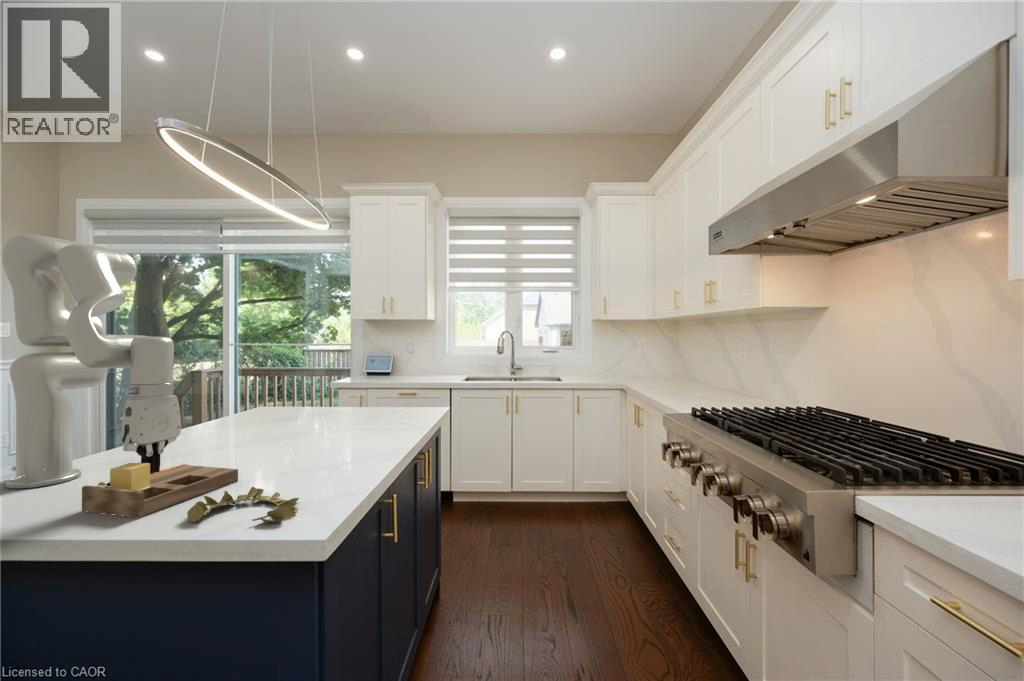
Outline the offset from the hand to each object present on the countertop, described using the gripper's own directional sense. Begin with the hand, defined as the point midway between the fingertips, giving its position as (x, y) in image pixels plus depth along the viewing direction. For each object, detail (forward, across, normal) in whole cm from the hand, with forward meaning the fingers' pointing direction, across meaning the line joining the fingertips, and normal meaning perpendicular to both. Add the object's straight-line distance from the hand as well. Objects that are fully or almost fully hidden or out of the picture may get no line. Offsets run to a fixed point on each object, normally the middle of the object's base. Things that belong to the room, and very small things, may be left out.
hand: (150, 472), depth 97 cm
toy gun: (+6, +8, +12) cm, 16 cm away
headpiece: (+5, -2, -30) cm, 31 cm away
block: (+2, -6, -2) cm, 6 cm away
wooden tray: (+5, +1, -4) cm, 7 cm away
